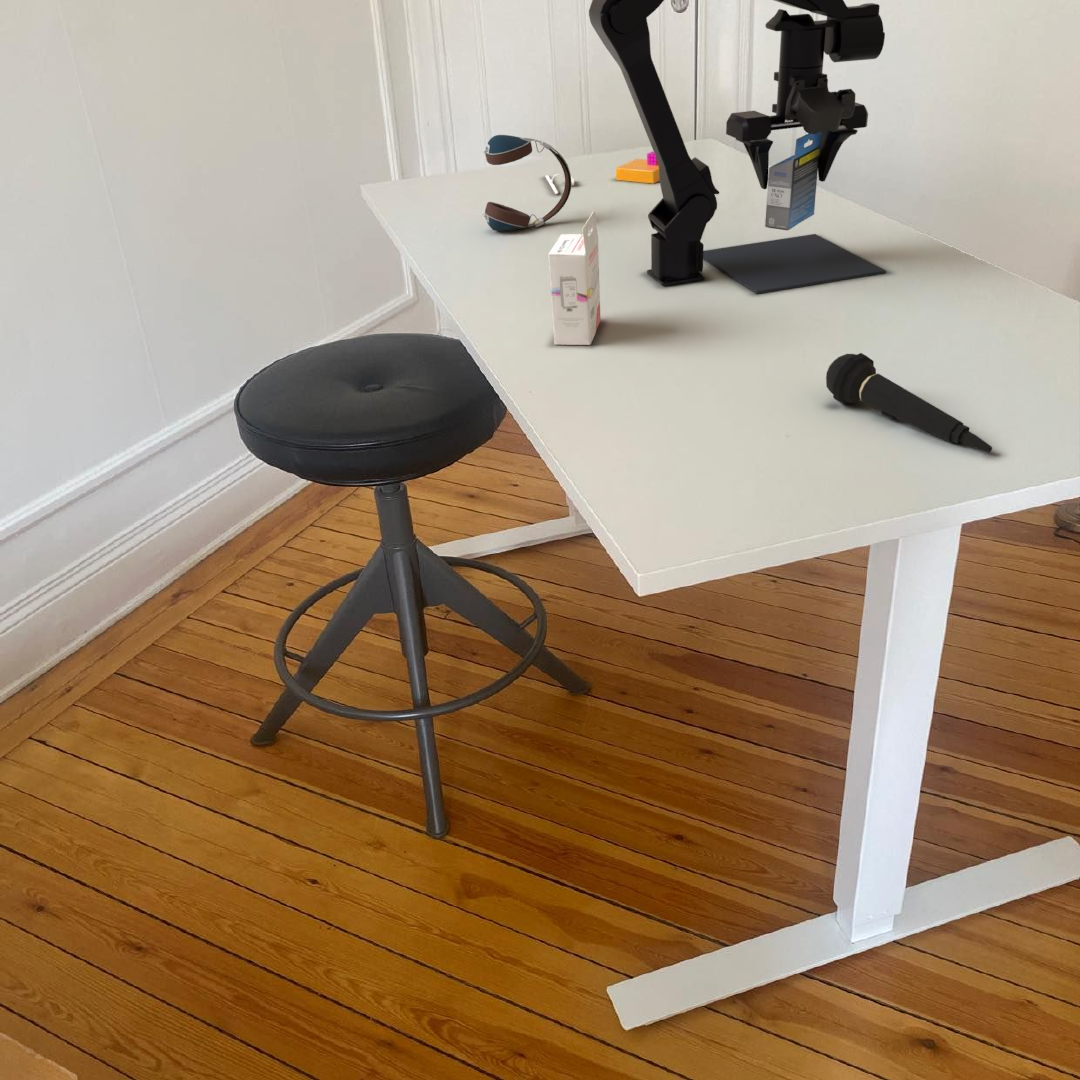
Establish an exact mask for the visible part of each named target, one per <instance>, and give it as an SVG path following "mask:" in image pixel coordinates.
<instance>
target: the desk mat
mask: <svg viewBox="0 0 1080 1080" xmlns="http://www.w3.org/2000/svg"><path fill="white" fill-rule="evenodd" d="M703 261H706V262H707V263H709V264H710V265H712V266H713V267H715V268H716V269H717V270H719V271H721V272H722V273H724V274H725V275H727V276H728V277H730V278H731V279H733V280H734V281H736V282H737V283H739V284H741V285H742V286H743V287H745V288H746V289H748V290H749V291H751V292H753V293H754V294H755V295H759V294H765V293H771V292H778V291H784V290H790V289H795V288H801V287H809V286H814V285H820V284H826V283H833V282H839V281H844V280H850V279H857V278H863V277H870V276H875V275H882V274H886V273H887V270H886V269H884V268H882V267H880V266H879V265H877V264H874V263H873V262H870V261H869V260H866V259H865V258H863V257H861V256H859V255H857V254H855V253H853V252H851V251H849V250H847V249H846V248H844V247H841V246H839V245H838V244H836V243H834V242H832V241H830V240H827V239H826V238H824V237H822V236H820V235H818V234H816V233H813V234H812V233H811V234H805V235H798V236H792V237H785V238H779V239H772V240H766V241H765V240H764V241H760V242H753V243H747V244H740V245H735V246H734V245H733V246H725V247H720V248H713V249H706V250H703Z"/></svg>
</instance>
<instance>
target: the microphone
mask: <svg viewBox="0 0 1080 1080" xmlns="http://www.w3.org/2000/svg"><path fill="white" fill-rule="evenodd" d="M874 364H875V363H874V360H873V359H871V358H870V357H869V356H868V355H866V354H864V353H862V352H860V353H857V354H856V353H845V354H842V355H840V356H838V357H837V358H835V359H834V360H833V361H832V362H831V363H830V365H828V368H827V371H826V376H825V380H826V381H825V383H826V385H825V386H826V389H828V391H829V392H830V393H831V394H832V398H833V399H834V400H835V401H837V402H838V403H840V404H843V405H845V406H848V405H850V404H853V403H854V404H855V403H858V402H862V403H863V404H865V405H867V406H869V407H871V408H873V409H876V410H877V411H880V414H881V415H882V416H884V417H886V418H888V419H891V420H898V419H899V420H900V421H902V422H905V423H907V424H909V425H911V426H914V427H915V428H918V429H920V430H922V431H925V432H927V433H929V434H931V435H933V436H936V437H938V438H941V439H943V440H945V441H947V442H949V443H954V444H957V445H959V444H960V445H962V444H964V445H966V446H968V447H971V448H974V449H976V450H979V451H983V452H985V453H988V454H989V453H991V451H992V450H993V446H992V445H991V444H989V443H987V442H986V441H985V440H983V439H982V438H980V437H979V436H977V435H976V434H975V433H973V432H971V431H970V426H967V425H965V424H964V423H963V422H962V421H961V420H959V419H957V418H956V417H954V416H952V415H950V414H948V413H947V412H945V411H943V410H942V409H940V408H938V407H937V406H935V405H933V404H931V403H929V401H926V400H925V399H923V398H921V397H920V396H917V394H914V393H913V392H911V391H909V390H908V389H906V388H904V387H902V386H901V385H899V384H897V383H896V382H894V381H892V380H890V379H889V378H887V377H885V376H883V375H882V374H881V373H877V369H876V367H875V365H874Z"/></svg>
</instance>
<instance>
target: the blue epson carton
mask: <svg viewBox="0 0 1080 1080" xmlns="http://www.w3.org/2000/svg"><path fill="white" fill-rule="evenodd" d="M821 136H822V132H819V133H818V134H809V133H807V134H805V135H802V136H801V137H798V138H796V139H795V147H794V148H795V149H794V154H793V155H790V156H789V157H787V158H785V159H783V160H781V161H779V162H778V163H777V162H776V164H773V165H772V166H769V167H768V184H767V195H766V209H765V220H764V227H765V228H768V229H775V230H782V231H790V230H791V229H793V228H794V227H795V226H797V225H799V224H800V223H802V222H804V221H805V220H807V219H809V218H810V217H812V216H814V215H815V209H816V208H815V207H816V194H817V183H818V161H819V149H820V142H821ZM810 141H811V142H812V143H811V144H809V145H807V146H805V145H806V144H807V143H808V142H810Z"/></svg>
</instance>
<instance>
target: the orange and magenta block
mask: <svg viewBox="0 0 1080 1080" xmlns="http://www.w3.org/2000/svg"><path fill="white" fill-rule="evenodd" d="M615 180H616V181H622V182H623V181H624V182H631V183H632V182H634V183H642V184H651V185H652V184H655V183H657V182H660V175H659V164H658V161H657V158H656V156H655V153H654V151H650V152H647V153H646V159H643V158H634V159H633V160H630V161H629V162H626V163H624V164H622V165H619V166H618V167H616V168H615Z"/></svg>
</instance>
